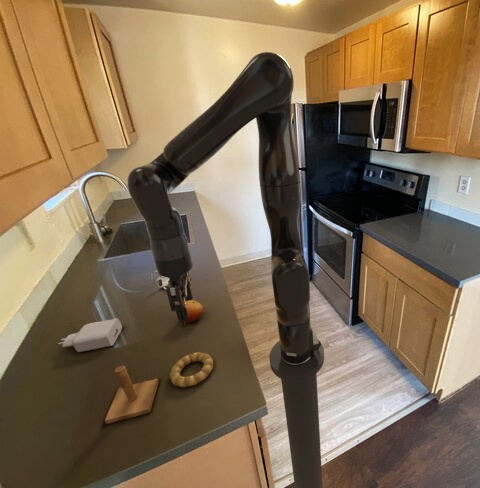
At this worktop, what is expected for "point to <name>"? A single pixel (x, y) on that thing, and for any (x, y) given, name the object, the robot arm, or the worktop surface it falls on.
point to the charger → (94, 335)
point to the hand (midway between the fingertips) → (186, 309)
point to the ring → (194, 379)
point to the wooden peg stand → (131, 397)
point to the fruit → (193, 311)
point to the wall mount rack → (164, 281)
